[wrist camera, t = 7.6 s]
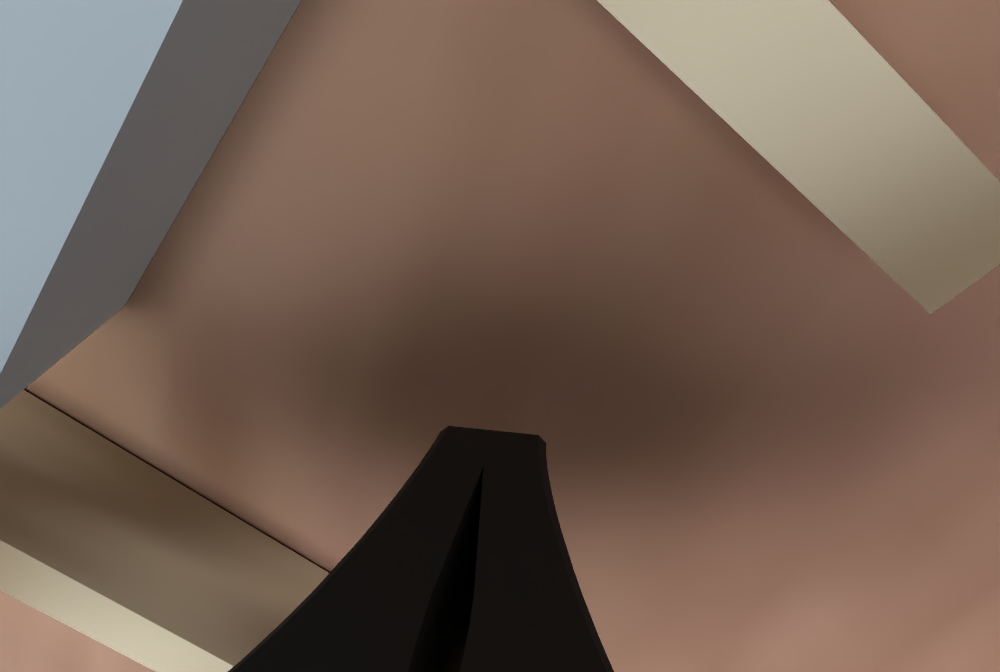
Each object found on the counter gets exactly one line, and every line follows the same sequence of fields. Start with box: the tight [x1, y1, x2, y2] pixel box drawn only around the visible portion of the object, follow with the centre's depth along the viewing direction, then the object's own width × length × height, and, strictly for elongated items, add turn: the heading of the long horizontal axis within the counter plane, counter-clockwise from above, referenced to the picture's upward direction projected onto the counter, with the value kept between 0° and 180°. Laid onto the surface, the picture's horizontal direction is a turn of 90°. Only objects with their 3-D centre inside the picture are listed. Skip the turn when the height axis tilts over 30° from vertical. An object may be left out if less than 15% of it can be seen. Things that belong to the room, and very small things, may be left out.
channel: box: [0, 0, 1000, 672], centre depth 8 cm, size 13×13×4 cm
